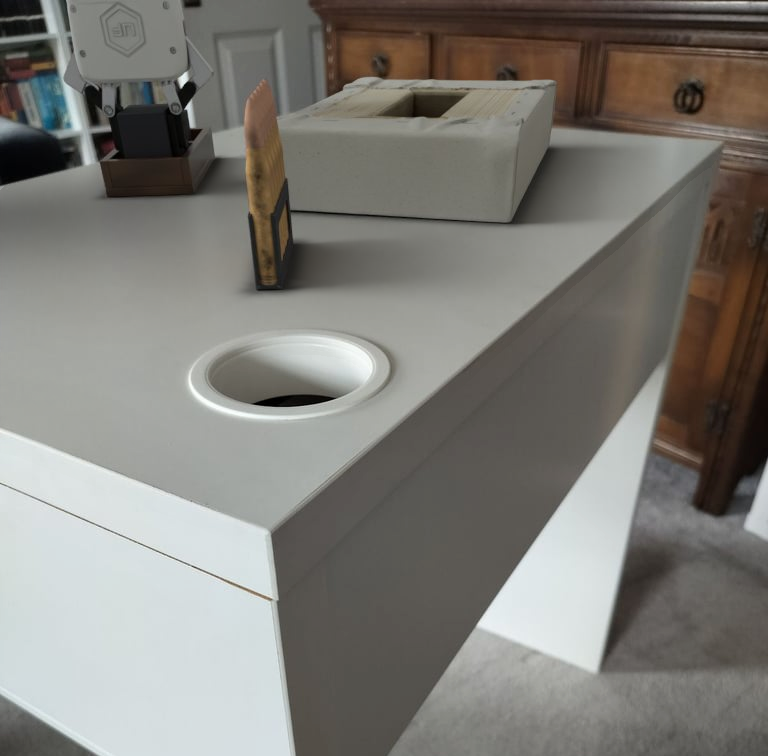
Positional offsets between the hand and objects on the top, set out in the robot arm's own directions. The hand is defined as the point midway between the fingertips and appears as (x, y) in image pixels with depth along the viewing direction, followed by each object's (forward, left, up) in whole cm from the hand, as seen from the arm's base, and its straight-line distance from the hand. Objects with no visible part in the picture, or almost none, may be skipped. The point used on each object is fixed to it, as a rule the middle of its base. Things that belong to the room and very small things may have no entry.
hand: (153, 155), depth 79 cm
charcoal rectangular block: (0, +8, -2) cm, 8 cm away
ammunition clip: (+14, -27, -3) cm, 31 cm away
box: (+28, 0, -3) cm, 28 cm away
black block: (0, 0, 0) cm, 0 cm away
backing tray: (0, +4, -3) cm, 5 cm away
